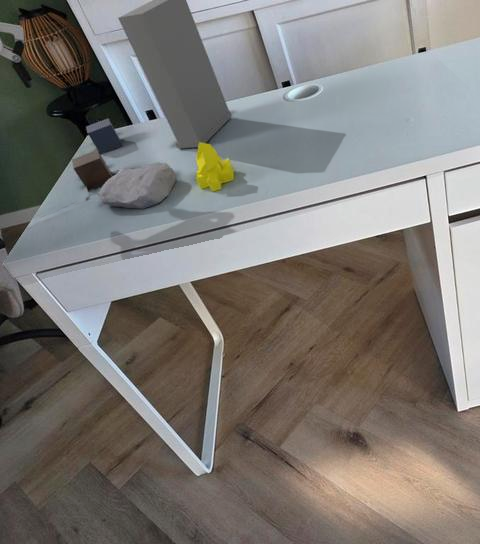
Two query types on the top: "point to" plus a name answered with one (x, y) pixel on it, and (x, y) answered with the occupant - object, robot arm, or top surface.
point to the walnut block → (92, 170)
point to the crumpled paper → (212, 168)
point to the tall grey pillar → (177, 69)
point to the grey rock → (138, 186)
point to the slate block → (104, 136)
